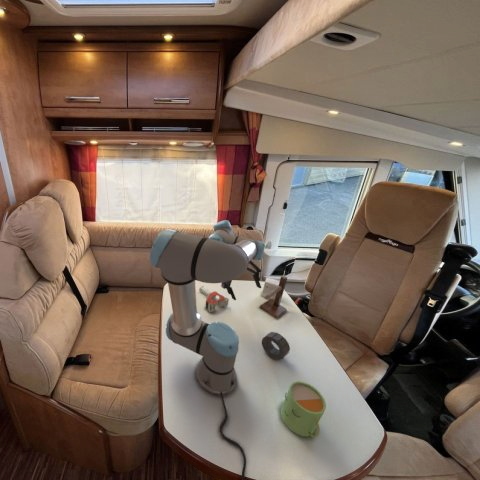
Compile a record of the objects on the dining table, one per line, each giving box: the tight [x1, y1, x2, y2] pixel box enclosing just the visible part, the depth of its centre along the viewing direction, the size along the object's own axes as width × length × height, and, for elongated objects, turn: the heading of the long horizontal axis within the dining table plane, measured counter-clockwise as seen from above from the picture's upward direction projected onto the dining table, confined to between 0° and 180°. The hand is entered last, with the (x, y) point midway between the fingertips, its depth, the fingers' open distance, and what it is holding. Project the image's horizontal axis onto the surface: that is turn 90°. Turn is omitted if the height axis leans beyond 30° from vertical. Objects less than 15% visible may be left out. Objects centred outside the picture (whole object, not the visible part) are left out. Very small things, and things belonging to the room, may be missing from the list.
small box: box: [261, 277, 280, 301], centre depth 138 cm, size 8×6×10 cm
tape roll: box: [261, 331, 291, 361], centre depth 101 cm, size 10×4×10 cm, turn 37°
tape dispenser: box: [198, 285, 230, 313], centre depth 133 cm, size 18×5×20 cm
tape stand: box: [259, 275, 288, 319], centre depth 123 cm, size 18×10×20 cm, turn 127°
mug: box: [280, 380, 327, 438], centre depth 76 cm, size 13×10×12 cm
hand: (246, 293), depth 111 cm, fingers open, 13 cm apart
